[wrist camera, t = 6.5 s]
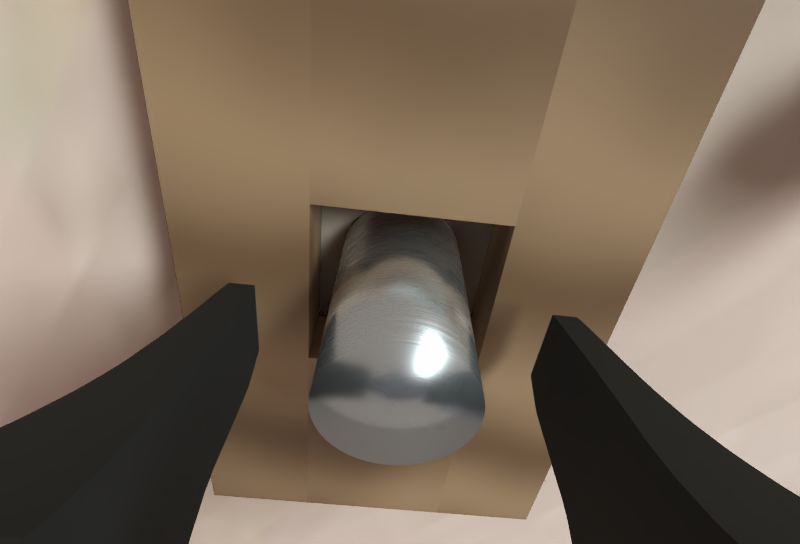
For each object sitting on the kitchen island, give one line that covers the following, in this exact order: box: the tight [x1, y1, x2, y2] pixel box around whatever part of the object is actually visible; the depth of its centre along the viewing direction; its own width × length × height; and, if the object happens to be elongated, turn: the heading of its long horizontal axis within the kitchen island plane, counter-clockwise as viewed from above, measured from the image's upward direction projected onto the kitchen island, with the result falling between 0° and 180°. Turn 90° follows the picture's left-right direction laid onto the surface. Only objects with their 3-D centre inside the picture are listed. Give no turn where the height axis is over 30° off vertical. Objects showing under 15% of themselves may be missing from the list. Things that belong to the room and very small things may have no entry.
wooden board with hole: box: [128, 0, 765, 519], centre depth 14 cm, size 20×12×2 cm, turn 174°
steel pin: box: [308, 211, 485, 465], centre depth 12 cm, size 4×4×6 cm
